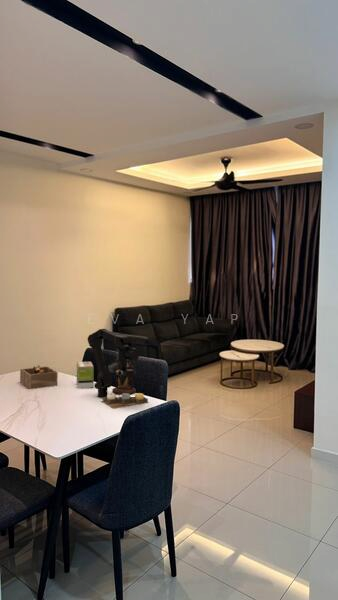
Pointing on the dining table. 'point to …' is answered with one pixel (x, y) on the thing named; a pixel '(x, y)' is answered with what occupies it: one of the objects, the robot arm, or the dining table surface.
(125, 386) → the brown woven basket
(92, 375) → the tea box
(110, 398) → the cream button
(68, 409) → the dining table surface
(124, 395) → the slate button
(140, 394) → the mustard button
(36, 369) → the bear figurine
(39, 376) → the box
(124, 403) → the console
